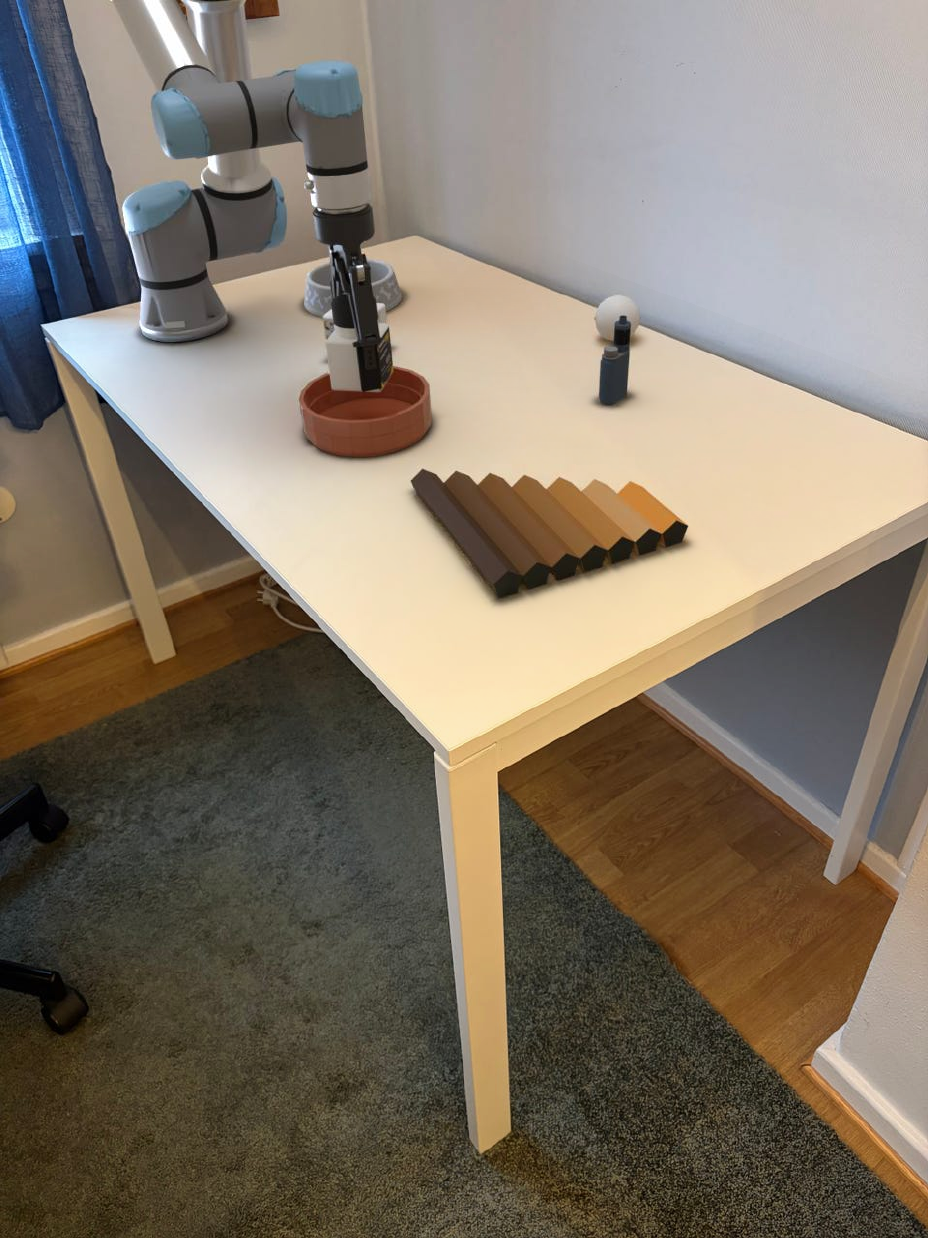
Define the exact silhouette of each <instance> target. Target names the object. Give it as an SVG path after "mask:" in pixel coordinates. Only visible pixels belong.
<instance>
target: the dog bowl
mask: <svg viewBox="0 0 928 1238" xmlns="http://www.w3.org/2000/svg"><path fill="white" fill-rule="evenodd" d="M366 259H367V263H369V266H370V267H371V270H370V273H371V283H372V290H373V296H374V297H375V298H376V302H377V303H383V304H385V309H386V312H389V311H391V310H392V309H394V308H395V307H397V306H398V305H399V304H400V303H401V302H402V300H403V293H402V291H401V288H400V285H399V283H398V278H397V275H396V272H395V269H394V267H393V266H392V265H391V264H389V263H387V262H386V261H383V260H380V259H374V258H366ZM331 280H332V279H331V267H330V261H328V262H325V263H323V264H320V265H318V266H316V267H314V268H313V269H311V270H310V271H308V273H307V275H306V281H305V292H304V300H303V301H304V303H303V305H304V308H305V309H306V311H308V312H309V313H310V314H312V315H314V316H317V317H320V318H323V315H325V314H326V313H327V312H328V311H330V310H331V309H332V308H331V302H332V296H331V288H330V282H331Z"/></svg>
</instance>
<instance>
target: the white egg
mask: <svg viewBox="0 0 928 1238" xmlns="http://www.w3.org/2000/svg"><path fill="white" fill-rule="evenodd" d="M593 307H594V308H597V309H596V311H595V316H594V319H593V320H594V321H595V328H596V330H597V332H598V334H599V335H600V336H602V337H603V338H604V339H606V340H607V341H611V342H614V328H615V327H614V325H615V322H616V321H619V317H620V316H623V315H624V316H627V321H629V322H631V333H630V337H632V336H633V335H634V334H635V333H636V331H637V330H638V328H639V326H640V322H641V321H640V320H641V315H640V309H639V308H638V305H637V303H636V302H635V301H634V300H633V299H631V297H629V296H625V295H624V294H614V295H611V296H609V297H606V298H605V299H604V300H603V301H601V302H600V304H599V306H595V305H593Z"/></svg>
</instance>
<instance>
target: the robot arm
mask: <svg viewBox="0 0 928 1238" xmlns="http://www.w3.org/2000/svg"><path fill="white" fill-rule="evenodd" d="M110 1H111V2H112V4H113V6H114V8H115V10H116V12H117V14H118V16H119V18H120V20H121V22H122V25H123V26H124V28H125V30H126V32H127V35H128V37H129V38H130V41H131V42H132V44H133V46H134V49H135V50H136V53H137V54H138V56H139V58H140V61H141V62H142V64H143V67H144V69H145V71H146V73H147V74H148V77H149V79H150V81H151V83H152V85H153V87H154V89H155V91H156V92H154V94H152V96H151V100H150V110H151V111H150V112H151V117H152V122H153V126H154V129H155V133H156V136H157V138H158V141H159V145H160V148H161V149H162V151H163V152H164V154H165V156H167V157H168V158H169V159H172V160H176V161H177V160H185V159H198V160H199V159H205V158H207V162H208V164H207V166H205V168H204V169H203V170H202V172H201V174H200V175H201V183H202V187H199V188H193V189H192V188H191V186H190V185H189V183H188V182H187V181H183V180H172V181H163V182H158V183H154V184H151V185H148V186H145V187H142V188H140V189H138V190H136V191H134V192H133V193H131V194H130V195H129V196H127V197H126V198H125V200H124V202H123V204H122V213H123V214H122V215H123V219H124V224H125V229H124V230H125V233H126V234H127V236H128V240H129V243H130V246H131V251H132V255H133V259H134V263H135V267H136V272H137V275H138V276H137V277H138V279H139V283H140V288H141V295H140V309H139V311H140V312H139V326H140V329H141V333H142V335H143V336H144V337H145V338H147V339H149V340H151V341H155V342H163V343H178V342H179V343H181V342H187V341H194V340H199V339H203V338H206V337H210V336H211V335H214V334H216V333H217V332H219V331H221V330H222V329H224V328H225V327H227V324H228V322H229V318H228V313H227V308H226V307H225V305H224V304H223V301H222V300H221V298H220V296H219V294H218V292H217V291H216V289H215V287H214V286H213V284H212V281H211V280H210V277H209V273H208V269H207V263H209V262H213V261H219V260H223V259H230V258H234V257H235V258H236V257H238V256H239V257H240V256H245V255H250V254H261V253H263V252H264V251H268V250H272V249H276V248H277V247H279V246H280V245H281V243H283V242H284V240H285V237H286V233H287V228H288V227H287V226H288V210H287V204H286V202H285V193H284V190H283V187H282V185H281V183H280V182H279V179H277V178H276V177H275V176H272V171H271V170H270V169H269V167H267V166H266V165H265V164H264V163H263V162H262V161H261V160H262V159H261V152H260V148H261V149H263V148H267V147H273V146H274V147H275V146H281V145H287V144H292V143H302V147H303V153H304V160H305V168H306V172H307V177H308V178H309V179H308V180H307V181H304V183H303V185H304V186H303V187H304V189H305V190H309V193H310V194H309V195H310V202H311V205H312V206H313V207H314V209H313V211H312V218H313V225H314V233H315V238H316V239H317V241H318V242H319V243H321V244H323V245H326V246H327V248H328V254H329V262H330V267H331V279H332V290H333V299H334V298H335V297H337V296H338V295H340V294H343V293H346V294H347V295H348V299H349V304H350V308H351V313H352V318H353V323H354V327H355V332H356V337H357V342H353V343H352V345H353V347H356V351H357V359H358V367H359V376H360V384H361V390H362V392H365V391H370V390H375V389H381V388H382V384H381V375H380V366H379V357H378V348H377V344H380V343H381V337H380V333H379V327H378V321H377V315H376V308H375V302H374V296H373V290H372V283H371V273H370V270H371V267H370V266H369V263H367V259H368V258H367V255H366V253H362V248H361V245H362V244H364V242H367V241H369V240H371V239H373V237H374V235H375V234H376V233H375V231H376V230H375V229H376V228H375V220H374V219H375V217H374V209H373V206H372V205H371V203H370V202H371V201H372V198H373V195H372V186H371V177H370V176H371V175H370V168H369V164H368V163H369V162H368V153H367V143H366V132H365V122H364V121H365V120H364V111H363V102H364V101H363V93H362V91H361V86H360V80H359V73H358V70H357V68H356V66H355V65H354V64H352V63H350V62H348V61H338V60H321V61H314V62H308V63H303V64H301V65H299V66H298V67H297V68H295V69H282V70H279V71H277V72H276V73H275V74H273V75H272V76H264V77H258V78H253V77H252V76H253V75H252V67H251V66H252V65H251V58H250V56H251V55H250V48H249V39H248V29H247V19H246V10H245V4H246V2H247V0H180V1H181V2H182V3H183V4H184V7H185V13H186V16H185V14H184V12H183V10H182V8H181V6H180V5H179V3H178V0H110ZM366 335H367V336H366Z"/></svg>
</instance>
